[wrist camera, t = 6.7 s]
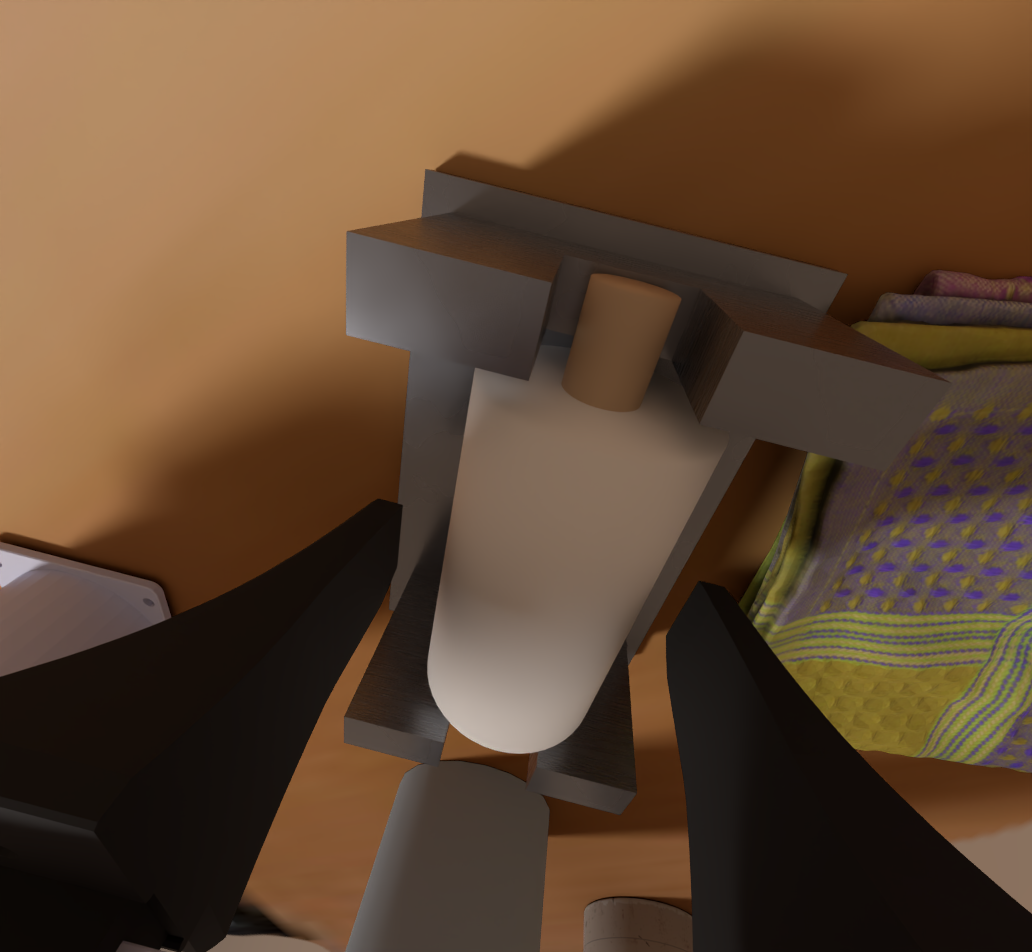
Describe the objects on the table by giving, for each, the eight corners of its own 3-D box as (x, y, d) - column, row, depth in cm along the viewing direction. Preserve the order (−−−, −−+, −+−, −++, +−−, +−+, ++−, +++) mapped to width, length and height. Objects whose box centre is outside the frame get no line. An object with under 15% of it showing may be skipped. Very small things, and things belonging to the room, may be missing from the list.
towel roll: (568, 647, 17) (581, 798, 13) (435, 627, 17) (404, 777, 13) (721, 287, 10) (852, 367, 6) (500, 236, 10) (480, 285, 6)
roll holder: (624, 657, 19) (635, 831, 14) (394, 598, 19) (321, 748, 14) (835, 270, 11) (1048, 344, 6) (433, 170, 11) (292, 155, 6)
